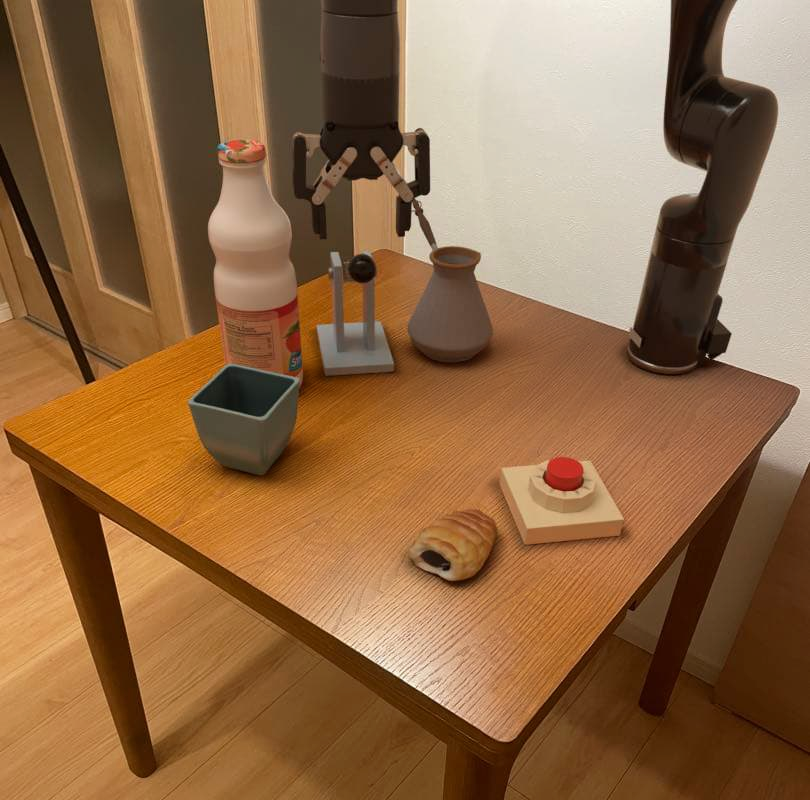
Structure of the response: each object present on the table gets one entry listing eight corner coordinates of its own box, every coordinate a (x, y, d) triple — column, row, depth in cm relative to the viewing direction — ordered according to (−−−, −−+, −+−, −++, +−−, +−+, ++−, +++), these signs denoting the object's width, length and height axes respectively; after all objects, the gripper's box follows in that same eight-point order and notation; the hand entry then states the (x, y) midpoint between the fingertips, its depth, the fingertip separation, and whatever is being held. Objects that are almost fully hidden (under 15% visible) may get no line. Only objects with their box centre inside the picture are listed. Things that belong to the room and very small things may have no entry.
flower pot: (306, 446, 91) (301, 376, 85) (271, 491, 84) (264, 419, 78) (237, 430, 93) (227, 361, 87) (198, 473, 86) (185, 402, 80)
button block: (586, 476, 88) (593, 446, 85) (620, 535, 80) (628, 505, 78) (498, 483, 86) (502, 453, 84) (524, 545, 79) (529, 514, 76)
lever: (379, 282, 89) (377, 252, 88) (350, 284, 88) (348, 253, 87) (364, 285, 102) (363, 258, 101) (339, 286, 102) (337, 259, 101)
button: (574, 469, 82) (576, 455, 81) (585, 490, 80) (588, 476, 79) (540, 472, 82) (542, 458, 81) (551, 493, 79) (553, 479, 78)
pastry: (455, 513, 82) (458, 484, 80) (512, 539, 80) (517, 510, 77) (403, 563, 77) (404, 534, 74) (463, 594, 74) (466, 564, 71)
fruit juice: (219, 373, 102) (184, 137, 84) (289, 359, 105) (271, 128, 87) (240, 410, 96) (207, 163, 77) (314, 394, 99) (299, 153, 80)
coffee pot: (505, 362, 106) (518, 251, 96) (424, 375, 103) (429, 262, 93) (445, 295, 121) (451, 193, 111) (373, 305, 118) (373, 200, 108)
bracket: (394, 371, 104) (395, 276, 95) (324, 376, 102) (320, 280, 94) (380, 328, 112) (381, 238, 104) (316, 332, 111) (311, 241, 103)
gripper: (288, 75, 73) (298, 252, 83) (441, 74, 75) (432, 246, 85) (283, 58, 78) (294, 225, 89) (426, 57, 80) (419, 221, 91)
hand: (362, 235), depth 87 cm, fingers open, 8 cm apart
